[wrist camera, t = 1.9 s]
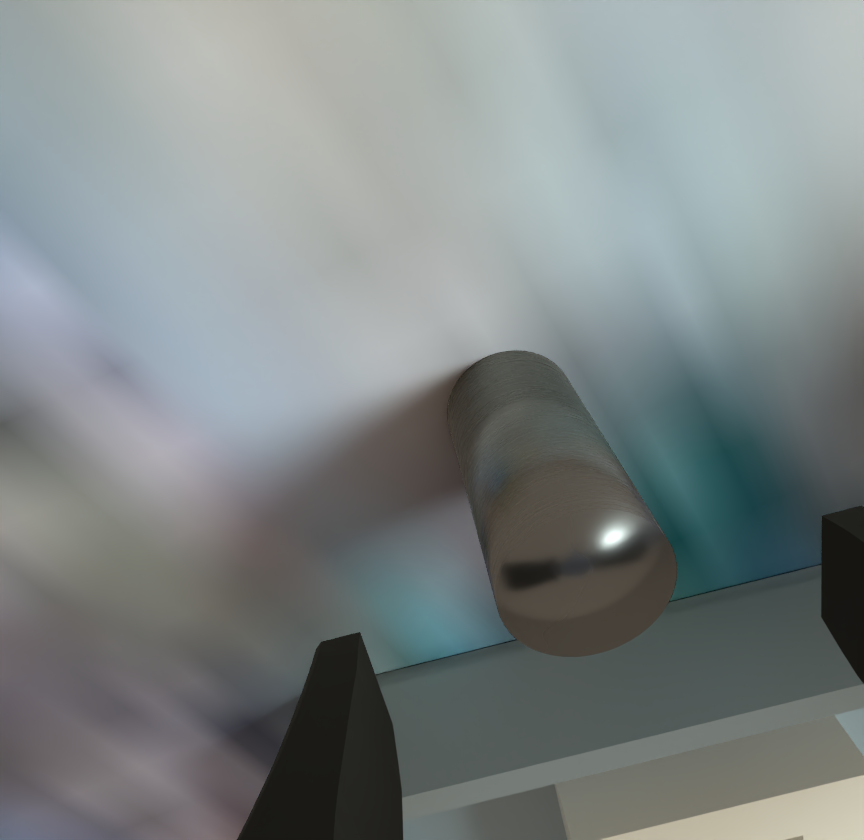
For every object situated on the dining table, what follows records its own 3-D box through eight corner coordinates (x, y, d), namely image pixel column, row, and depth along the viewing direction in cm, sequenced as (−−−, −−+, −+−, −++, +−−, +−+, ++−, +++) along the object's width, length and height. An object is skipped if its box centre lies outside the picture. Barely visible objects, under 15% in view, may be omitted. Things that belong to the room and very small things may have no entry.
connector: (563, 336, 18) (669, 489, 12) (581, 448, 20) (683, 632, 14) (434, 368, 18) (480, 536, 12) (461, 478, 20) (513, 674, 14)
